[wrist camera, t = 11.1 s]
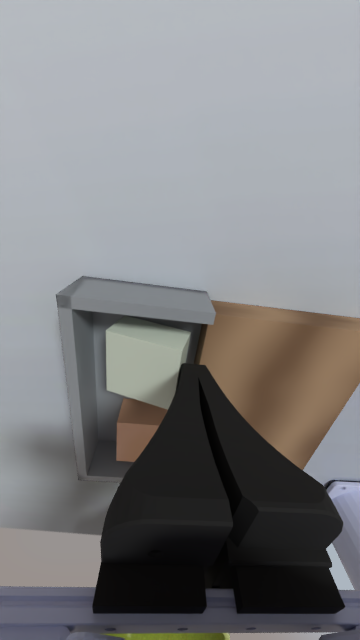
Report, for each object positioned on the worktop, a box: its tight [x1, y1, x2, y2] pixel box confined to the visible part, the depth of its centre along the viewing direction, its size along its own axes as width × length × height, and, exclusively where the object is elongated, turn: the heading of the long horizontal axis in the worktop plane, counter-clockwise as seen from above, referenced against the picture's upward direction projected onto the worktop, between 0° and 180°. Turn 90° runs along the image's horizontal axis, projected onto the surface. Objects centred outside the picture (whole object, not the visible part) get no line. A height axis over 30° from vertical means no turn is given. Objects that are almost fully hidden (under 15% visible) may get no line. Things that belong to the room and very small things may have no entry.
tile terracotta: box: [116, 398, 168, 462], centre depth 16 cm, size 4×4×2 cm
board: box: [194, 300, 360, 470], centre depth 15 cm, size 10×13×2 cm
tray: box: [56, 276, 216, 482], centre depth 14 cm, size 7×14×3 cm, turn 172°
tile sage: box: [106, 316, 191, 410], centre depth 12 cm, size 4×4×2 cm
